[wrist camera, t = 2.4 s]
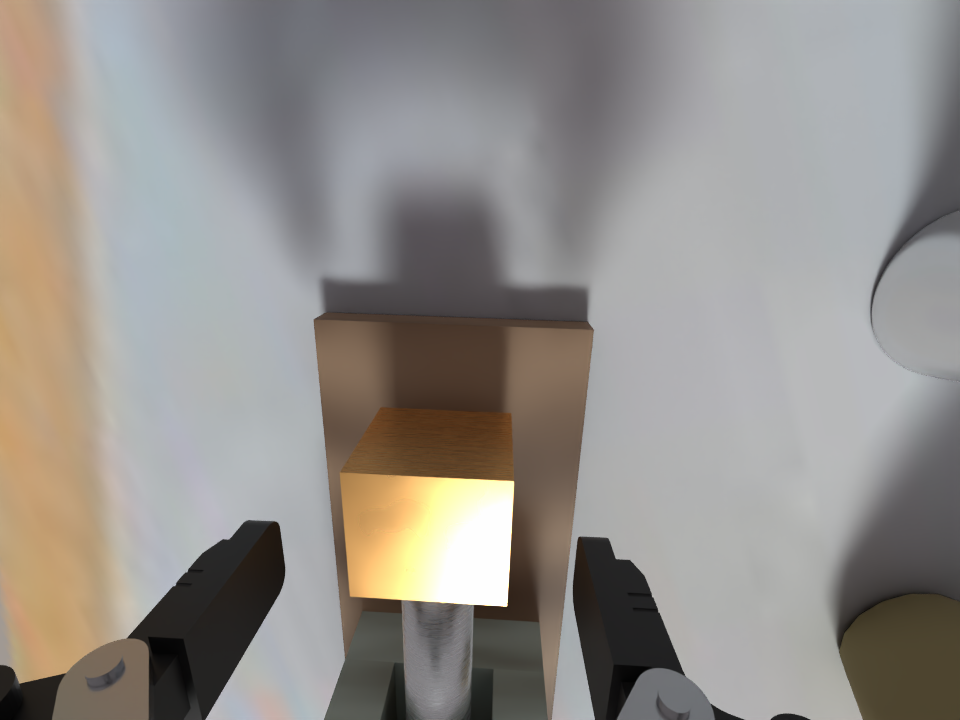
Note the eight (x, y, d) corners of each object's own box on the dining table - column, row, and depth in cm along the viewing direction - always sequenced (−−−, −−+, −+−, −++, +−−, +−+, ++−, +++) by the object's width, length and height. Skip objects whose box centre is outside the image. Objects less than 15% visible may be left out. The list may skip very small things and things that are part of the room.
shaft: (380, 407, 15) (340, 472, 11) (511, 413, 15) (513, 481, 11) (400, 817, 22) (379, 942, 18) (489, 824, 22) (487, 952, 18)
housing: (326, 312, 17) (187, 390, 10) (587, 321, 17) (655, 411, 9) (359, 713, 24) (294, 941, 17) (545, 726, 24) (565, 966, 16)
